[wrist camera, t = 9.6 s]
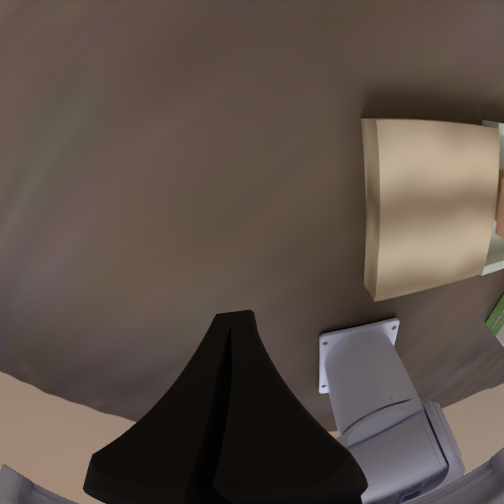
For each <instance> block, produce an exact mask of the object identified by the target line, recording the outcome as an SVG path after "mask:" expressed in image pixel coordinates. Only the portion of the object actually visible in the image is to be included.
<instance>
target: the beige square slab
mask: <svg viewBox="0 0 504 504" xmlns="http://www.w3.org/2000/svg"><path fill="white" fill-rule="evenodd" d="M360 120H361V130H362V141H363V154H364V170H365V194H366V247H365V272H364V285H365V287H366V288H367V290H368V292H369V293H370V295H371V297H372V298H373V300H374V302H376V301H381V300H385V299H390V298H394V297H398V296H402V295H407V294H411V293H415V292H419V291H423V290H426V289H430V288H434V287H438V286H441V285H445V284H449V283H452V282H456V281H459V280H463V279H466V278H469V277H473V276H476V275H479V274H482V273H483V270H484V266H485V261H486V257H487V253H488V248H489V243H490V238H491V233H492V227H493V221H494V215H495V207H496V199H497V189H498V176H499V152H500V138H499V129H497V128H493V127H488V126H483V125H477V124H469V123H461V122H451V121H440V120H425V119H399V118H366V119H360Z"/></svg>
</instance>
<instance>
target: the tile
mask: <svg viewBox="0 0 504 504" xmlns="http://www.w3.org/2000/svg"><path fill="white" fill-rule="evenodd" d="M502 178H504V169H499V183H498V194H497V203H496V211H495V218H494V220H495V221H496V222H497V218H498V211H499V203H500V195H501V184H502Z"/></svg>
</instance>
